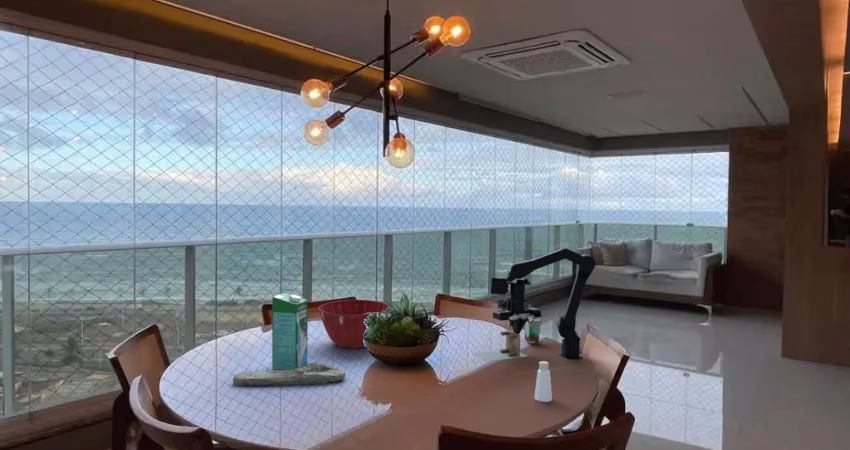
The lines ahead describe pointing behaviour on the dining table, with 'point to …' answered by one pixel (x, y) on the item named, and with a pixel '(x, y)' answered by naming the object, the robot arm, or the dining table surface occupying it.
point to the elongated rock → (291, 376)
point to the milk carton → (289, 331)
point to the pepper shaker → (543, 383)
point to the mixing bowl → (348, 320)
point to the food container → (532, 329)
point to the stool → (511, 343)
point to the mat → (495, 355)
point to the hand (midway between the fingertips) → (516, 336)
